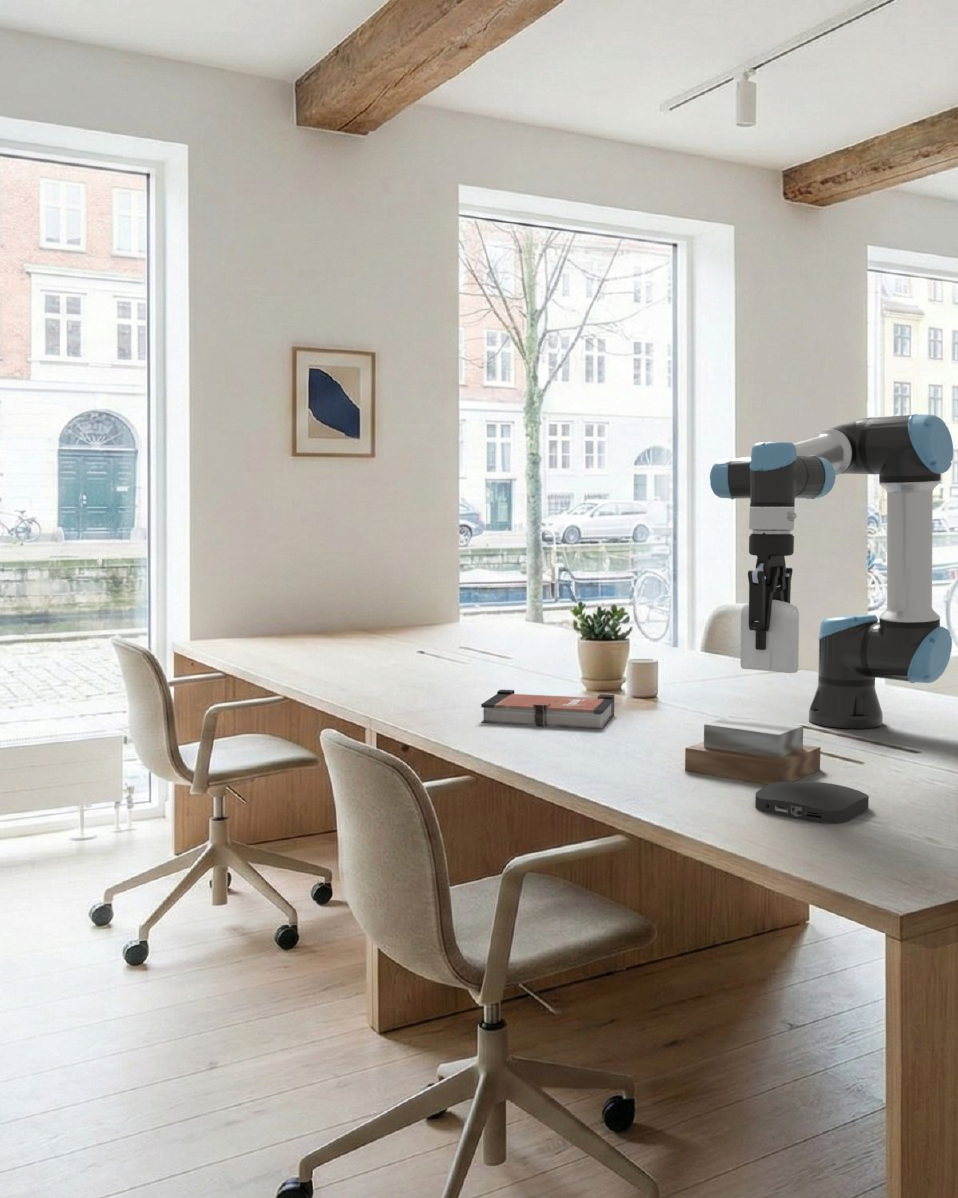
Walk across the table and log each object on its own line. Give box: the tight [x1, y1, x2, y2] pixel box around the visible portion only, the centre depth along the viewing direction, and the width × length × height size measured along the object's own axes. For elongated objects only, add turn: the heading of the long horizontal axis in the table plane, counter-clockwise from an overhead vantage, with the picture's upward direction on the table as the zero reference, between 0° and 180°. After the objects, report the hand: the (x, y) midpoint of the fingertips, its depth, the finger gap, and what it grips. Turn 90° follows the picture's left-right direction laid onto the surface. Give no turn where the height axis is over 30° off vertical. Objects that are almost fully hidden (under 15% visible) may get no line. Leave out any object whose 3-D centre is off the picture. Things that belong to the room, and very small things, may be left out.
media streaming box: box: [754, 781, 870, 824], centre depth 171 cm, size 15×15×3 cm
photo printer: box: [739, 600, 800, 674], centre depth 193 cm, size 10×4×12 cm, turn 48°
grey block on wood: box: [684, 715, 822, 785], centre depth 196 cm, size 16×18×8 cm
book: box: [480, 689, 615, 730], centre depth 243 cm, size 26×18×5 cm
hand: (768, 666), depth 193 cm, fingers closed on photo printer, 4 cm apart
